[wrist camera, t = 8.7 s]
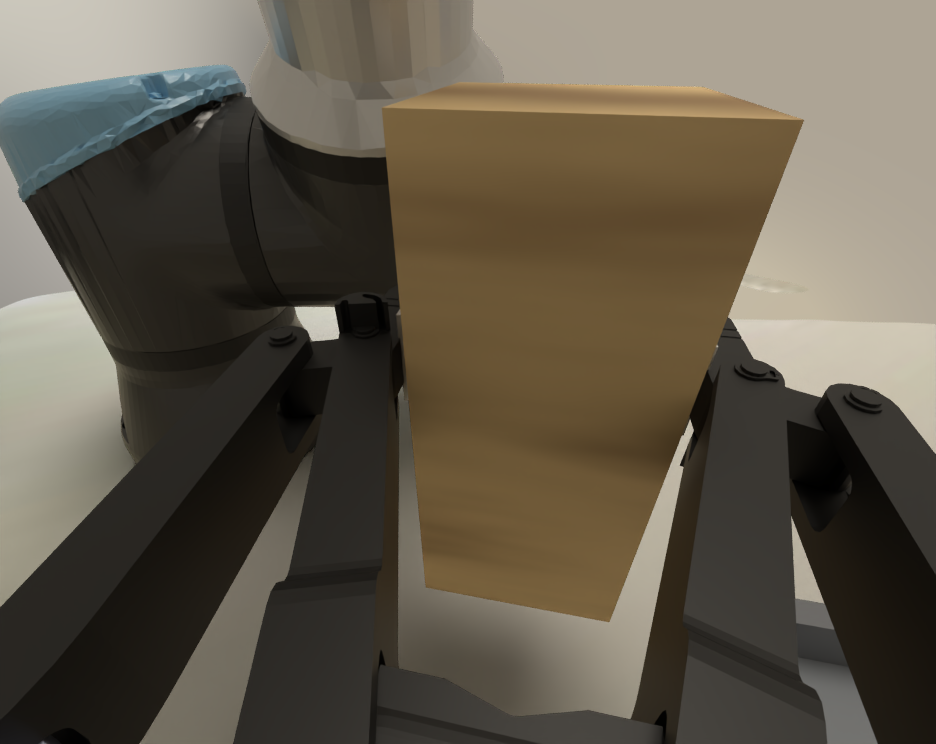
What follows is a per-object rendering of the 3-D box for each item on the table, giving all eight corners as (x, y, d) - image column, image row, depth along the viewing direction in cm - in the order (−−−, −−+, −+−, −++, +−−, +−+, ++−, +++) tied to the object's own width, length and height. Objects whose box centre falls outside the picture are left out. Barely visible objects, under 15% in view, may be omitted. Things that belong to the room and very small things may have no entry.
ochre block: (461, 457, 20) (459, 82, 12) (600, 477, 19) (703, 86, 11) (425, 587, 15) (381, 107, 7) (609, 622, 14) (804, 120, 6)
